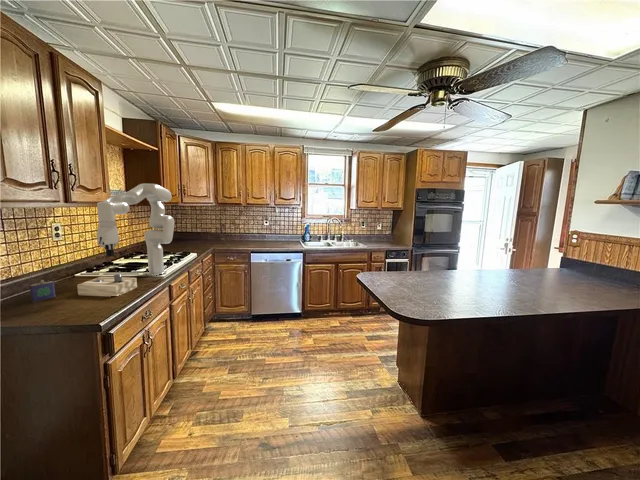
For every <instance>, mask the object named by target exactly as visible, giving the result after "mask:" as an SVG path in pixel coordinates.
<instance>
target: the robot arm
mask: <svg viewBox="0 0 640 480" xmlns="http://www.w3.org/2000/svg"><path fill="white" fill-rule="evenodd" d="M172 198H173V197H172V193H171V191H170V190H169V189H167V188H165V187H163V186H161V185H159V184H157V183H139V184H138V185H137V186H135V187H133V188H131V189H129V190H128V191H126V192H122V193H118V194H115V195H112V196H110V197H108V198H106V199H104V200H103V201H99V202H97V204H96V207H97V209H96V210H97V217H98V219H97V220H98V227H97V232H96V241H97V245H99V247H100V248H104V250H105V253H106V255H105V256H106V257H114V256H115V251H114V250H115V247H116V246H117V245H119V241H120V237H119V231H118V227H117V222H116V215H126V214H127V213H129V211H130V206H131V205H132V206H133V205H137V204H139V203H140V202H142V201H143V200H145V199H146V200H147V201H148V203H149V205H150V208H151V210H150V216H149V226H150V227H151V228H153V229H149V230H147V231H146V232H145V233H144V240H145V243H146V249H147V250H146V251H147V254H146V255H147V264H148V271H149V273H147V272H145V274H147V275H146V276H149V277H150V276H151V277H154V276H156V275H157V276H160V275H159V274H163V273H165V274H167V273H166V272H167V270H166V271H165V272H164V270H165V269H166V268H167V267H168V266H167V265H164V248H163V246H162V245H164V244H165V245H168V244H170V243H171V242H172V241H173V237H174V231H175V230H174V229H175V219H174V217H173V216H171V215H168V214H167V215H165V213H166V209H165V205H164V204H163V203H168V202H170V201H172ZM160 229H161V230H160ZM161 244H162V245H161ZM162 272H163V273H162ZM163 275H164V274H163Z"/></svg>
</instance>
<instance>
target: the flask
mask: <svg viewBox="0 0 640 480" xmlns="http://www.w3.org/2000/svg"><path fill="white" fill-rule="evenodd" d="M29 291H30V299H31V303H38V302H42V301H47V300H52V299H54V298H56V290H55V283H54V281H53V280H52V281H45V280H44V279H41V280H40V282H36V283H32V284H31V285H29Z"/></svg>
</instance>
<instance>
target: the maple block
mask: <svg viewBox="0 0 640 480" xmlns="http://www.w3.org/2000/svg"><path fill="white" fill-rule="evenodd" d="M95 280H102V281H100V282H94V281H95ZM136 288H138V282H137V277H125V276H124V277H123V276H122V282H120V283H114V276H98V277H95V278H93V279H90V280H87V281H84V282H82V283H79V284H77V294H78V296H90V297H92V296H93V297H111V296H118V297H119V295H120V296H122V295H124V294H126V293H128V292H130V291H132V290H134V289H136Z"/></svg>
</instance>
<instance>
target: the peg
mask: <svg viewBox="0 0 640 480" xmlns="http://www.w3.org/2000/svg"><path fill="white" fill-rule="evenodd" d="M113 277H114V283H120V282H122V277H123V275H122V274H121V273H116V274H114V275H113Z"/></svg>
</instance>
